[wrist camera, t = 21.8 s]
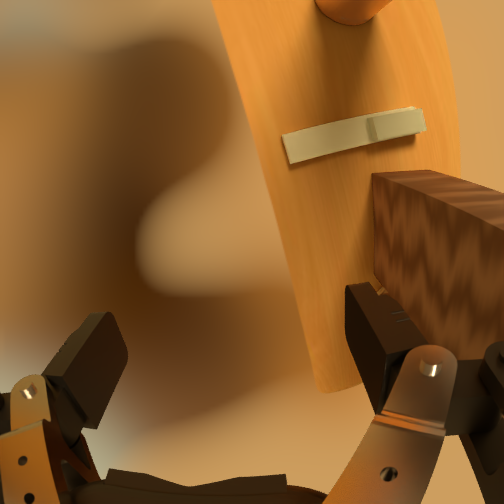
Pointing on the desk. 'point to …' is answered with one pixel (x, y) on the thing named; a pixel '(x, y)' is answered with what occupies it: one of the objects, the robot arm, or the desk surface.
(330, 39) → the desk surface
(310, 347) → the desk surface
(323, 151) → the cream plank with block
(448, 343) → the walnut stand
